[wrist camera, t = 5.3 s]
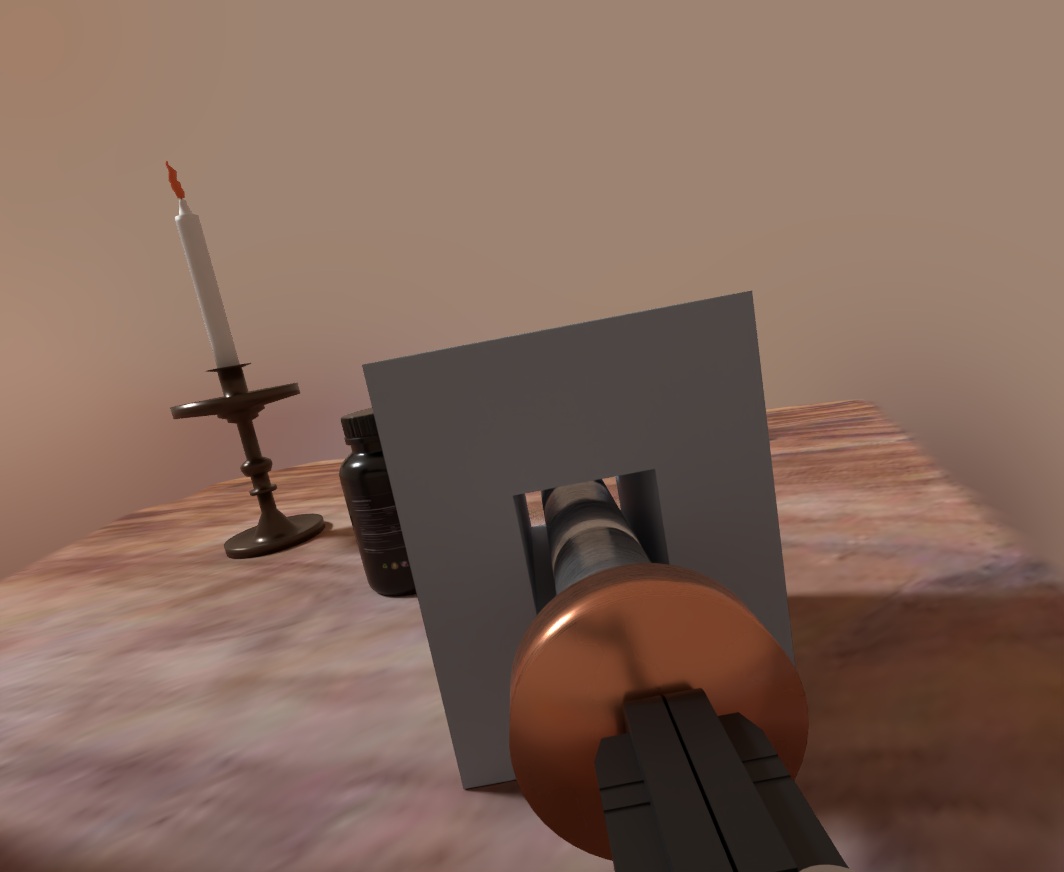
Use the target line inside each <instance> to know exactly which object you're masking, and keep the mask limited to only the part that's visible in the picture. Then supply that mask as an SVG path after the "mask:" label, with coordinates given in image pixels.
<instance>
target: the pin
mask: <svg viewBox="0 0 1064 872" xmlns="http://www.w3.org/2000/svg"><path fill="white" fill-rule="evenodd" d="M541 497H542V503H543V510H544V516H545V523H546V529H547V536H548V543H549V549H550V556H551V562H552V569H553V575H554V582H555V589H556V596H555V597H554V598H553V599H552V600H551V601H550V602H549V603H548V604H547V605H546V606H545V607H544V608H543V609H542V610H541V611H540V612H539V614H538V615H537V616H536V617H535V618H534V620H533V621H532V623H531V624H530V626H529V627H528V629H527V630H526V632H525V634H524V636H523V638H522V640H521V642H520V644H519V647H518V649H517V652H516V655H515V659H514V662H513V666H512V672H511V679H510V720H509V749H510V756H511V763H512V767H513V770H514V773H515V777H516V780H517V783H518V785H519V787H520V789H521V791H522V793H523V795H524V797H525V799H526V800H527V802H528V803H529V805H530V806H531V808H532V809H533V811H534V812H535V813H536V814H537V816H538V817H539V818H540V819H541V820H542V821H543V822H544V824H545V825H547V826H548V827H549V828H550V829H551V830H552V831H554V832H555V833H556V834H557V835H558V836H560V837H561V838H563V839H564V840H566V841H567V842H569V843H570V844H572V845H573V846H575V847H577V848H579V849H581V850H583V851H586V852H588V853H590V854H593V855H595V856H598V857H601V858H604V859H607V860H612V861H613V859H612V854H611V849H610V844H609V839H608V834H607V829H606V823H605V818H604V812H603V807H602V802H601V796H600V791H599V786H598V780H597V775H596V770H595V764H594V761H595V758H596V754H597V751H598V747H599V744H600V740H601V738H605V737H610V736H615V735H620V734H626V733H627V732H626V726H625V721H624V715H623V708H622V703H623V702H628V701H633V700H638V699H644V698H649V697H654V696H659V695H660V696H661V697H662V696H663V695H665V694H671V693H676V692H681V691H686V690H691V689H697V688H702V689H703V690H704V692H705V694H706V695H707V697H708V699H709V701H710V703H711V705H712V707H713V709H714V710H715V712H716V714H717V716H721V715H726V714H731V713H736V712H739V713H741V714H742V715H743V716H744V717H746V718H747V719H748V720H750V721H751V722H752V723H754V724H755V725H756V726H758V727H759V728H760V729H762V730H763V732H764V733H765V735H766V736H767V738H768V740H769V741H770V743H771V745H772V746H773V748H774V749H775V751H776V753H777V754H778V758H779V759H781V761H782V762H783V764H784V765H785V767H786V769H787V770H788V772H789V773H790V776H791V779H792V780H795V778H796V776H797V773H798V771H799V768H800V766H801V763H802V761H803V757H804V753H805V749H806V745H807V736H808V708H807V703H806V697H805V692H804V689H803V686H802V683H801V681H800V678H799V675H798V673H797V671H796V669H795V667H794V666H793V664H792V662H791V660H790V658H789V657H788V656H787V654H786V653H785V652H784V650H783V649H782V647H781V646H780V645H779V644H778V642H777V641H776V640H775V639H774V638H773V637H772V635H771V634H770V633H769V632H768V631H767V629H766V628H765V627H764V626H763V625H762V624H761V622H760V621H759V620H758V619H757V618H756V616H755V615H754V614H753V613H752V612H751V611H750V609H749V608H748V607H747V606H746V605H745V604H744V603H743V602H742V601H741V600H740V599H739V598H738V597H737V596H736V595H735V594H734V593H733V592H731V591H730V590H729V589H727V588H726V587H725V586H724V585H722V584H720V583H719V582H717V581H715V580H713V579H712V578H710V577H708V576H706V575H703V574H701V573H698V572H696V571H694V570H691V569H687V568H683V567H679V566H675V565H668V564H660V563H651V562H650V560H649V559H648V557H647V555H646V554H645V552H644V550H643V548H642V547H641V545H640V543H639V542H638V540H637V538H636V537H635V535H634V533H633V531H632V530H631V528H630V526H629V525H628V523H627V521H626V519H625V518H624V516H623V514H622V513H621V511H620V509H619V508H618V506H617V504H616V502H615V501H614V499H613V497H612V496H611V494H610V492H609V491H608V489H607V487H606V485H605V484H604V482H603V480H602V479H598V480H593V481H587V482H582V483H577V484H572V485H566V486H561V487H556V488H550V489H545V490H541Z"/></svg>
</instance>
